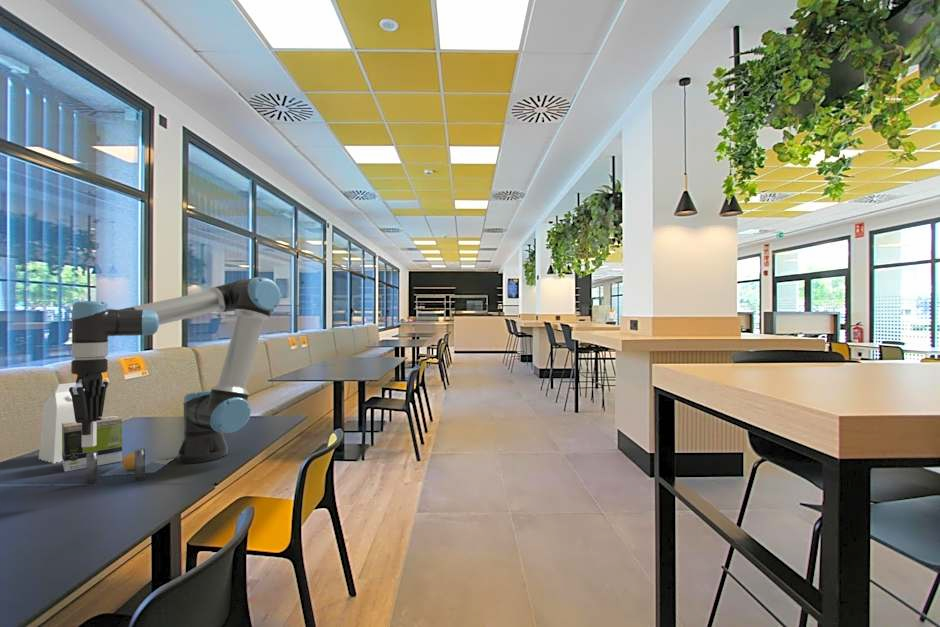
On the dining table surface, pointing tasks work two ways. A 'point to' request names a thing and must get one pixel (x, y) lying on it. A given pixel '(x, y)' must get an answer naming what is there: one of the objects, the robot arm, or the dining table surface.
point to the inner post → (139, 464)
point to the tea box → (106, 446)
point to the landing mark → (121, 470)
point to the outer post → (91, 467)
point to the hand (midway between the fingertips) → (89, 446)
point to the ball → (129, 462)
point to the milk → (55, 422)
